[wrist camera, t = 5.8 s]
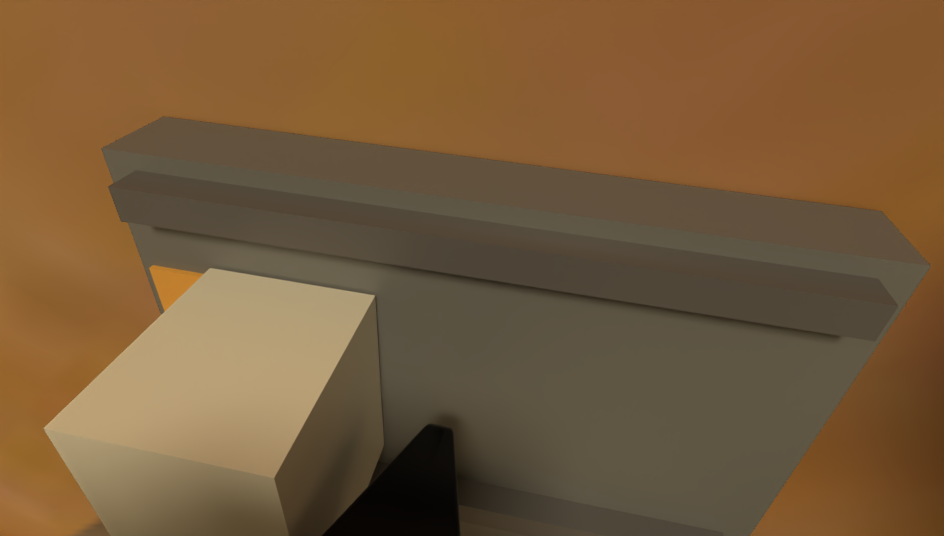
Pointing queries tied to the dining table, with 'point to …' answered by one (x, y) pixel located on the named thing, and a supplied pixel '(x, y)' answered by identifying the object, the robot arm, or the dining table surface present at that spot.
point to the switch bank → (547, 313)
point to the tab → (233, 413)
